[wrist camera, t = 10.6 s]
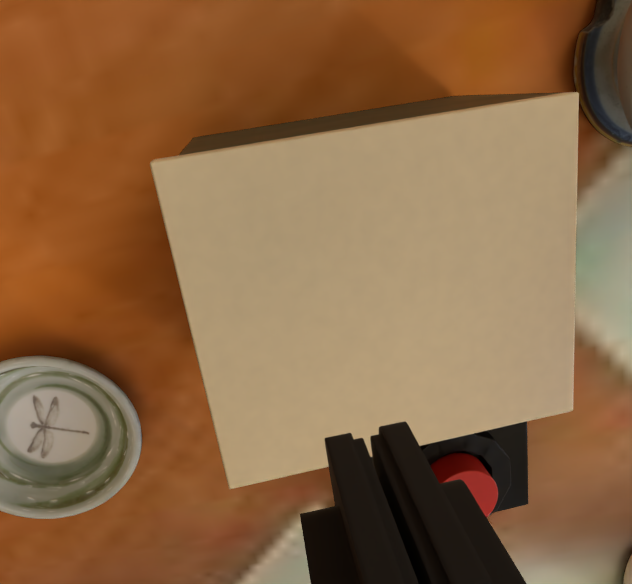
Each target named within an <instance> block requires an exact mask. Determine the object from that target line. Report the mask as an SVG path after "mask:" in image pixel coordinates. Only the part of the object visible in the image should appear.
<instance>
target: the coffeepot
mask: <svg viewBox="0 0 632 584" xmlns="http://www.w3.org/2000/svg"><path fill="white" fill-rule="evenodd" d="M624 584H632V554H631V556H630V558H629V561H628V563H627V566H626V569H625V574H624Z"/></svg>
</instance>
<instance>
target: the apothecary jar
mask: <svg viewBox="0 0 632 584" xmlns="http://www.w3.org/2000/svg"><path fill="white" fill-rule="evenodd" d="M574 82H575V87H576V91H577V92H578V93H579V102H580V104H581V107H582V109H583V111H584V113H585V115H586V116H587V118H588V120H589V121H590V123H591V124H592V125H593V126H594V127H595V129H596V130H597V131H599V132H600V133H601V134H602V135H604V136H605V137H607V138H608V139H610V140H611V141H613V142H616V143H619V144H622V145H625V146H630V147H632V0H598V1H597V5H596V9H595V14H594V18H593V20H592V21H591V23H590V24H589V25H588V26H587V27H586V28H584V29H583V30H581V31H580V33H579V36H578V40H577V44H576V49H575V56H574Z"/></svg>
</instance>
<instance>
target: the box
mask: <svg viewBox="0 0 632 584" xmlns="http://www.w3.org/2000/svg"><path fill="white" fill-rule="evenodd" d="M552 94H558V93H531V94H498V95H466V96H450V97H444V98H438V99H432V100H425V101H419V102H413V103H407V104H400V105H394V106H388V107H382V108H375V109H369V110H363V111H357V112H350V113H344V114H338V115H332V116H325V117H319V118H313V119H307V120H300V121H294V122H288V123H282V124H275V125H269V126H263V127H257V128H250V129H244V130H238V131H232V132H225V133H219V134H213V135H207V136H200V137H194V138H193V139H192V140H191V141H190V142H189V144H188V145H187V146H186V147H185V148H184V149H183V151H182V152H181V153H180V154H179V155H185V154H191V153H197V152H203V151H209V150H215V149H221V148H228V147H234V146H240V145H246V144H252V143H258V142H264V141H270V140H277V139H283V138H289V137H295V136H301V135H307V134H313V133H319V132H326V131H332V130H338V129H344V128H350V127H356V126H362V125H368V124H375V123H381V122H387V121H393V120H399V119H405V118H411V117H417V116H424V115H430V114H436V113H442V112H448V111H454V110H460V109H467V108H473V107H479V106H485V105H491V104H497V103H503V102H509V101H516V100H522V99H528V98H534V97H540V96H546V95H552Z"/></svg>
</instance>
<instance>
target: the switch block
mask: <svg viewBox="0 0 632 584" xmlns="http://www.w3.org/2000/svg"><path fill="white" fill-rule="evenodd" d="M420 448H421V450H422V451H423V453H424V455H425V457H426V459H427V461H428V463H429V464H430V466H431V465H432V464H433V463H434V462H435V461H437V460H438V459H439V458H441V457H443V456H446V455H449V454H453V453H466V454H470V455H472V456H474V457H476V458H477V459H479V460H480V461H481V463H482V464H483V466H484V467H485V468H486V470H487V471H488V473H489V474H490V475H491V477H492V478H493V479H494V481H495V483H496V485H497V488H498V499H497V503H496V505H495V507H494V509H493V511H492V512H491V513H490V514H489V515H491V514H492V513H493V512H497V511H501V510H505V509H510V508H514V507H518V506H522V505H526V504H528V457H527V421H526V422H522V423H517V424H513V425H509V426H504V427H500V428H495V429H491V430H487V431H482V432H478V433H474V434H469V435H465V436H460V437H456V438H452V439H447V440H443V441H439V442H434V443H430V444H426V445H421V446H420ZM371 460H372V463H373V457H371ZM373 465H374V464H373Z"/></svg>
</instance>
